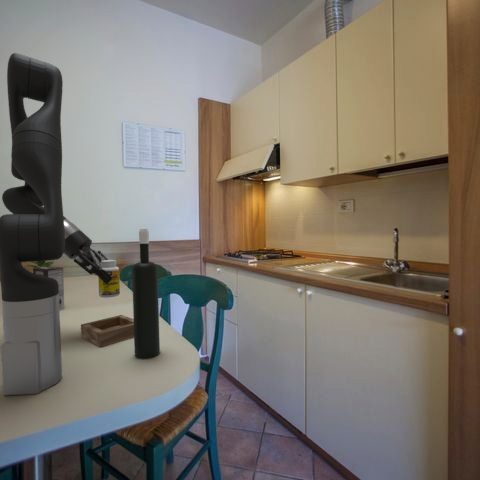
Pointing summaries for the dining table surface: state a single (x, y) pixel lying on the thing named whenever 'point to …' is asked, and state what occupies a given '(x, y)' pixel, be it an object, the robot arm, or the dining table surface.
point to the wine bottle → (145, 302)
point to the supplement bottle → (114, 285)
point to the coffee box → (55, 274)
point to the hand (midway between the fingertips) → (113, 279)
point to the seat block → (108, 330)
